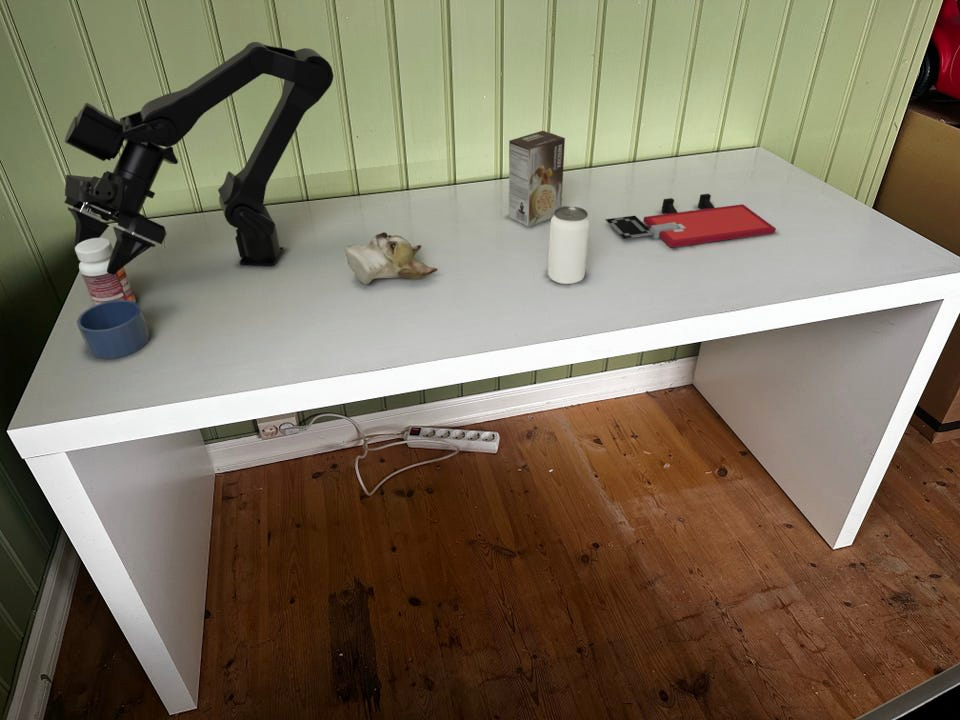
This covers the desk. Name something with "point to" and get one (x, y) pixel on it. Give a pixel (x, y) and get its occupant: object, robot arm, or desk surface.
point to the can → (568, 245)
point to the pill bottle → (102, 272)
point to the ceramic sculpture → (385, 259)
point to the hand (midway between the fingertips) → (93, 265)
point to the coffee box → (535, 177)
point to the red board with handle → (694, 224)
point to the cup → (113, 329)
